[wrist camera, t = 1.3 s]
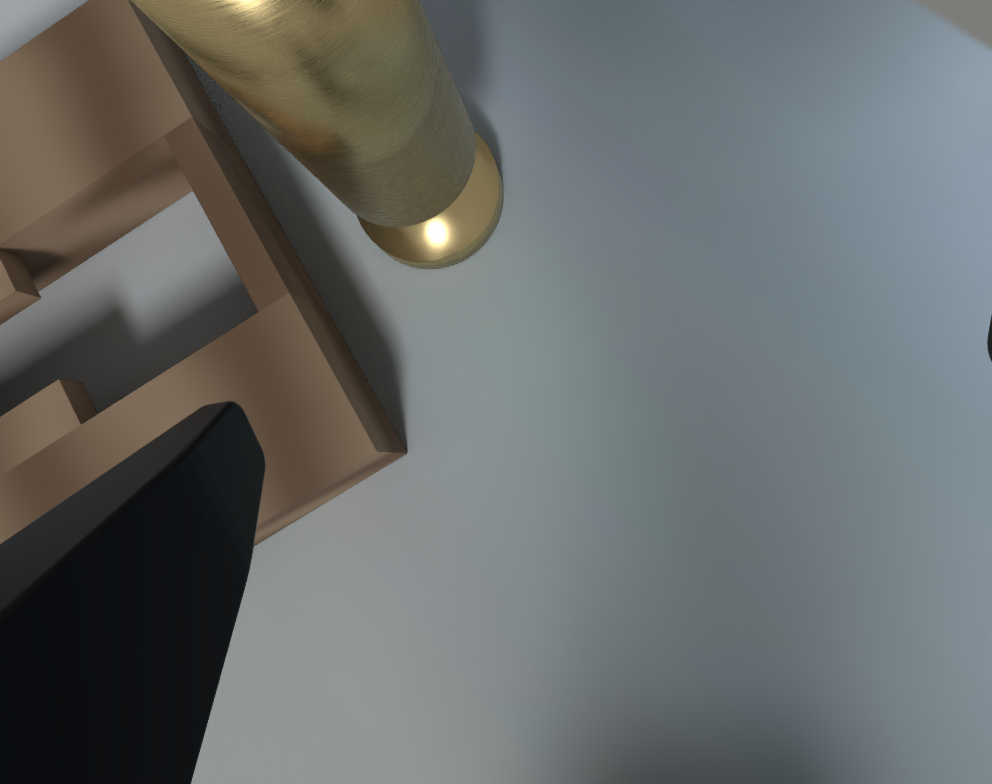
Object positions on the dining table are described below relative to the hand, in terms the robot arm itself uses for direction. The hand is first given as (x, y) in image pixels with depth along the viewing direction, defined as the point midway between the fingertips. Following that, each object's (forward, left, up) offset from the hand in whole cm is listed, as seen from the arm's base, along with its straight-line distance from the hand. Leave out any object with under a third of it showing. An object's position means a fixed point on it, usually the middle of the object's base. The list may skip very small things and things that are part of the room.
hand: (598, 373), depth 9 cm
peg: (0, +9, -13) cm, 16 cm away
